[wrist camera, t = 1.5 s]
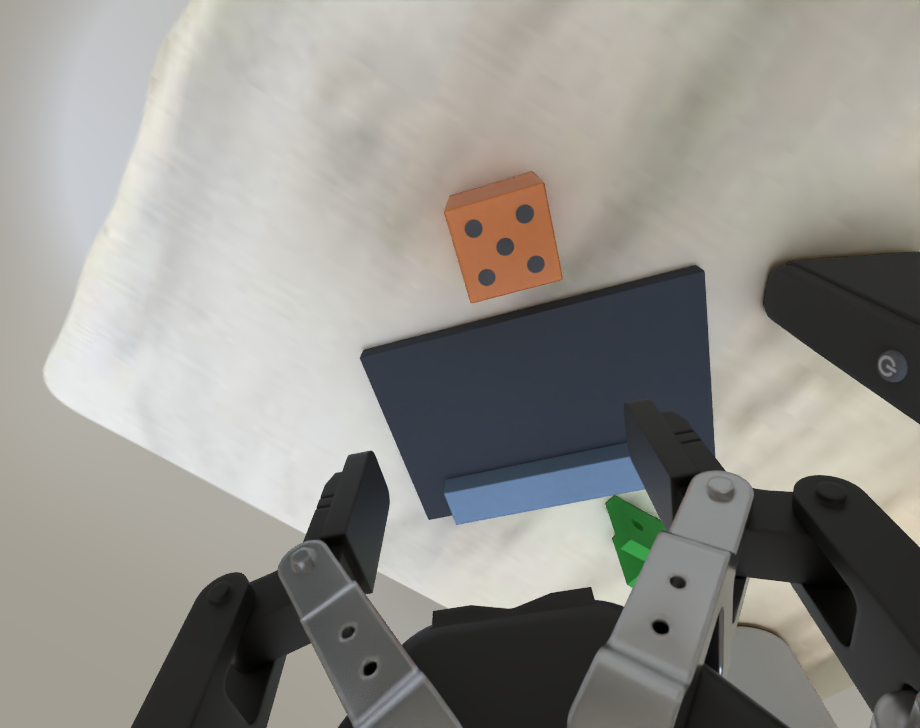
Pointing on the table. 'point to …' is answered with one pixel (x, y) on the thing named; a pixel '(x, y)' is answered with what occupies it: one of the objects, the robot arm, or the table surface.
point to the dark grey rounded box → (857, 318)
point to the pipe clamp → (632, 536)
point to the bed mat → (544, 396)
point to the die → (503, 237)
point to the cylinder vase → (775, 679)
